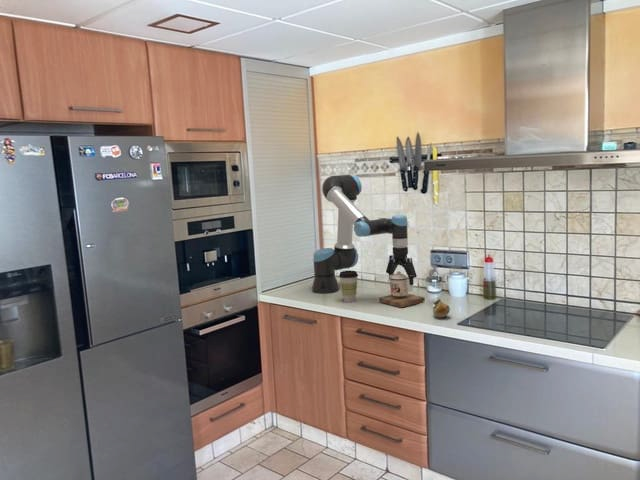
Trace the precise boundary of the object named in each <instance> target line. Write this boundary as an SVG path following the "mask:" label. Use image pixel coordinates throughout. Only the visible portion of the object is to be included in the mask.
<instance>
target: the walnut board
mask: <svg viewBox="0 0 640 480" xmlns="http://www.w3.org/2000/svg"><path fill="white" fill-rule="evenodd" d="M425 298H426V297H424V296H420V295H418V294H411V293H408V294H407V295H406V296H393V295H391V294H389V295H385V296H380V297H379V298H378V301H379V302H380V303H381V302H382V303H381V304H387V305H391V306H395V307H398V308H401V309H402V308H405V307H409V306H412V305H415V304H421V303H424V302H425Z"/></svg>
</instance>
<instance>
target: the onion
mask: <svg viewBox="0 0 640 480" xmlns="http://www.w3.org/2000/svg"><path fill="white" fill-rule="evenodd" d="M432 304H433V305H434V306H433V308H432V314H433V315H434V316H435V317H436V318H438V319H441V318H442V319H444V318H445V317H447V315H449V313H450V310H451V309H450V306H449V305H448V304H446V303H445V302H442V301H441V299H440V298H439V299H436V300H432Z"/></svg>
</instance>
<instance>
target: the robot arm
mask: <svg viewBox="0 0 640 480" xmlns="http://www.w3.org/2000/svg"><path fill="white" fill-rule="evenodd" d="M362 186H363V185H362V182H361V180H360V178H359V177H358V176H357V175H356V174H340V175H330V176H328V177H326V179H325V180H324V181H323V183H322V186H321V191H322V194H323V197H325V199H326V200H327V201H328V202H330V203H332V204H333V205H334V206H335V207H336V208H337V210H338V211H337V236H336V237H337V238H336V239H337V240H336V243H335V244H334V245H333V246H334V247H333V248H332V247H326V248H319V249H316V250H315V251H314V253H313V259H312V261H313V272H314V279H313V282H312V286H311V291H312V292H313V293H316V294H331V293H335V292H338V291H339V288H340V287H339V283H338V281H337V278H336V271H338V270H344V269H350V268H353V267H355V266H356V265H357V263H358V261H359V253H358V250H357V248H356V247H355V244H353V231H354V234H355V236H357V237H369V236H376V235H377V236H378V235H383V234H390V235H391V234H392V235H391V237H392V238H391V239H392V254H391V255H390V254H389V256H388V263H387V266H386V271H385V272H386V274H388V279H389V281H390V276H392V275H394V274H395V272H396V269H397V268H398V267H399V266H401V267H402V268H403V269H404V271H405V273H406V276H408V293H411V292H414V283H415V282H414V279H415V278H417V277H418V275H417V272H416V270H415V269H416V268H415V266H414V263H413V258H412V257H408V254H409V247H408V246H409V243H408V242H409V239H408V217H407V216H406V215H404V214H403V215H402V214H398V215H397V214H396V215H395V214H394V215H392V216H391V218H386V217H379V218H377V219H369V218H368V217H367V216H366V215H365V214H364V213H363V212H362V210H360V209H359V208H358V207H357V205H355V202H356V201H357V200H358V196H359V195H360V194H361V192H362V189H363V188H362ZM389 288H390V289H391V287H390V286H389Z"/></svg>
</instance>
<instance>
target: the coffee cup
mask: <svg viewBox="0 0 640 480" xmlns="http://www.w3.org/2000/svg"><path fill="white" fill-rule="evenodd" d="M358 276H359V275H358V272H357V271H355V270H343V271H340V272H339V274H338V277H339V279H340V280H339V281H340V288H341V294H342V298H343V302H345V303H353V302H356V300H357V299H356V297H357V288H358Z"/></svg>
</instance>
